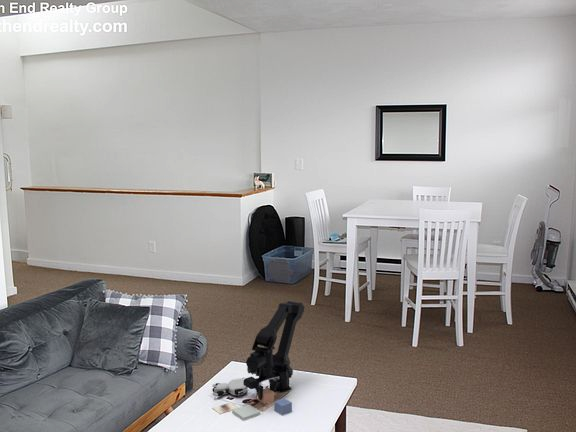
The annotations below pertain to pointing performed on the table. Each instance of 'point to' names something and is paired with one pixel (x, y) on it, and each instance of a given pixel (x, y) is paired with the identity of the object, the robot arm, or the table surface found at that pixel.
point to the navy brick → (283, 406)
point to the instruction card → (225, 408)
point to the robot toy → (230, 388)
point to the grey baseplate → (246, 412)
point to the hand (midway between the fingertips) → (265, 398)
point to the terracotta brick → (267, 396)
